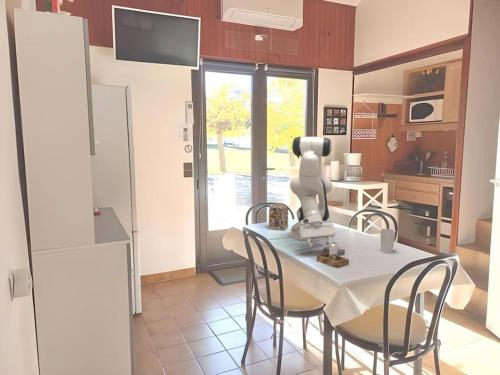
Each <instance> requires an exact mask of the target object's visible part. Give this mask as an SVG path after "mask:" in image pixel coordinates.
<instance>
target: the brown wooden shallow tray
mask: <svg viewBox="0 0 500 375" xmlns="http://www.w3.org/2000/svg"><path fill="white" fill-rule="evenodd" d="M316 261H317V262H319V263H322V264H325V265H328V266H332V267H334V268H337V269H339V268H342V267H345V266H349V264H350V262H349V261H350V259H349V258H347V257H343V256H342V255H340V256H338V255H337V261H334V260H331V259H329V253H324V252H323V253H321V254H318V255H317V254H316Z"/></svg>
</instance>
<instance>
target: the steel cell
mask: <svg viewBox="0 0 500 375" xmlns="http://www.w3.org/2000/svg"><path fill="white" fill-rule="evenodd" d="M328 247H329V259H331V260H334V261H337V248H338V243H336V242H335V241H332V242H330V243H329V245H328Z"/></svg>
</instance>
